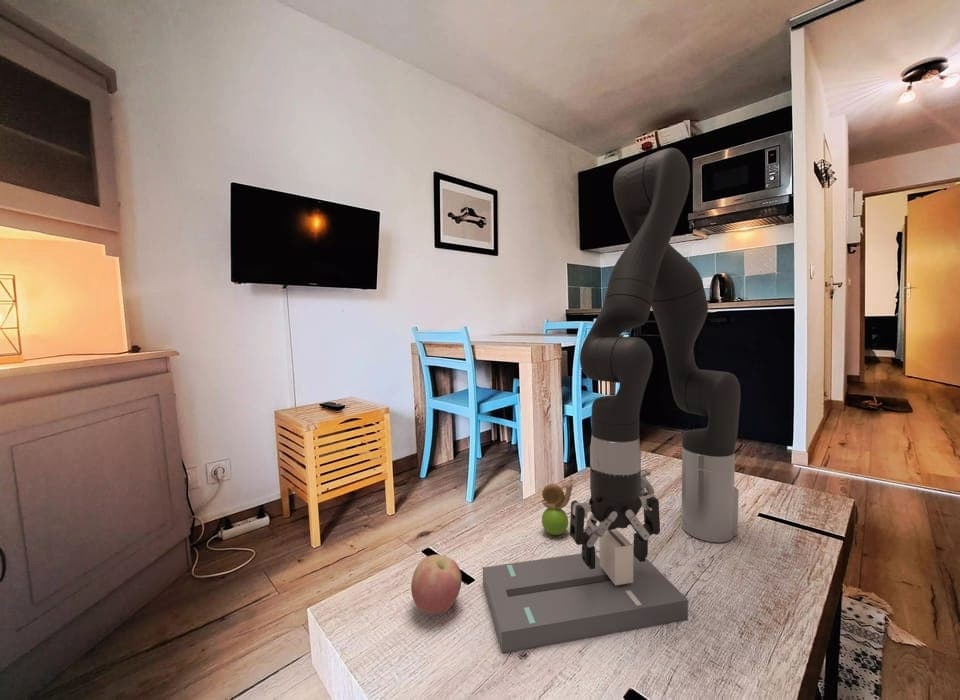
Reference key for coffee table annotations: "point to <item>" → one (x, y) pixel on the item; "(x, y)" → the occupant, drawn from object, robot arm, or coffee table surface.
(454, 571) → the apple
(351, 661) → the coffee table surface
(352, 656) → the coffee table surface
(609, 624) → the fader console
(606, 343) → the robot arm
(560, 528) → the snail figurine
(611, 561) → the fader
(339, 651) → the coffee table surface
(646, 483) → the grey animal figurine
